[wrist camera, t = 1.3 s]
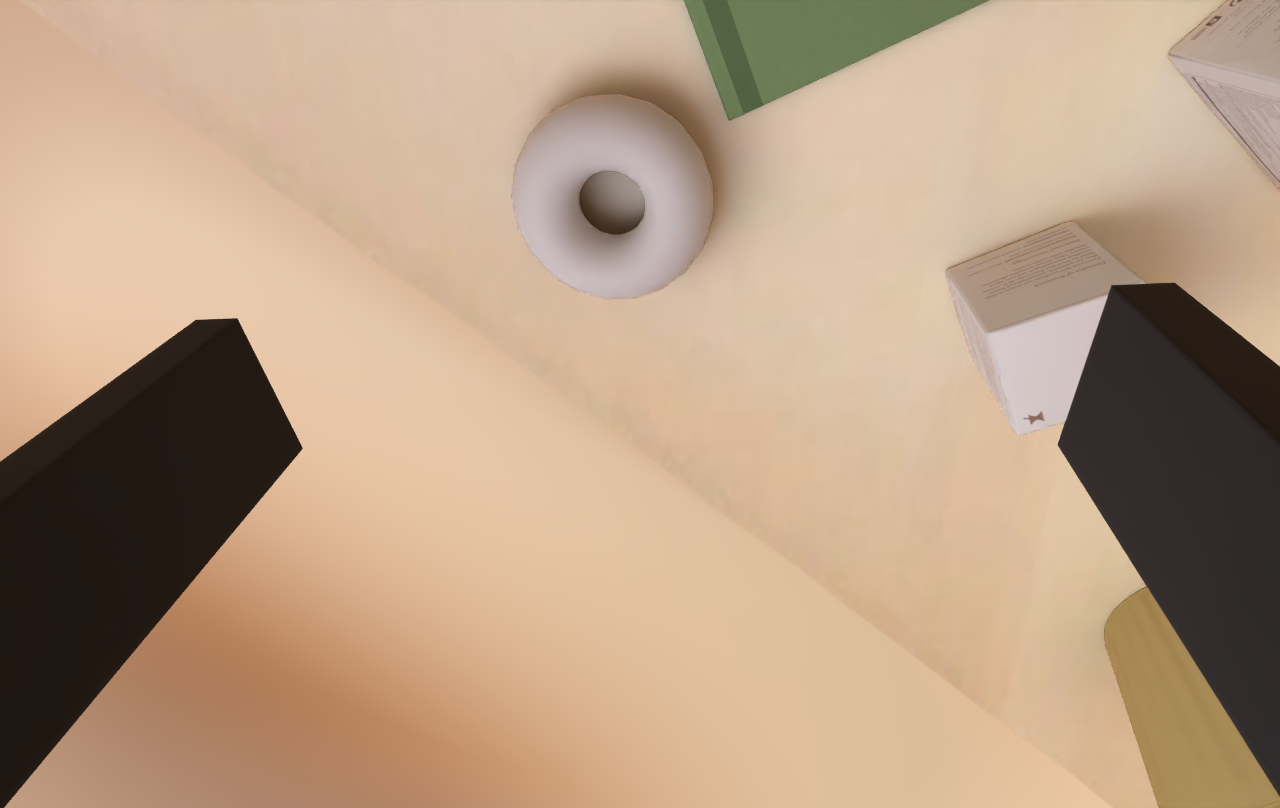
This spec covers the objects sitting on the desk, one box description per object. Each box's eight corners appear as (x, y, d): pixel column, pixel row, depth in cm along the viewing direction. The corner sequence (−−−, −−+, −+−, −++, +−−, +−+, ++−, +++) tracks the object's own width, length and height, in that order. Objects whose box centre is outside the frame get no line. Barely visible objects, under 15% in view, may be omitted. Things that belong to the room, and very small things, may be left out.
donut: (727, 97, 31) (517, 77, 31) (728, 112, 28) (496, 90, 28) (701, 292, 37) (524, 273, 37) (699, 321, 34) (507, 300, 34)
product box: (1093, 320, 34) (1167, 398, 29) (970, 360, 37) (1014, 441, 31) (1073, 216, 32) (1149, 278, 26) (941, 266, 34) (984, 335, 28)
